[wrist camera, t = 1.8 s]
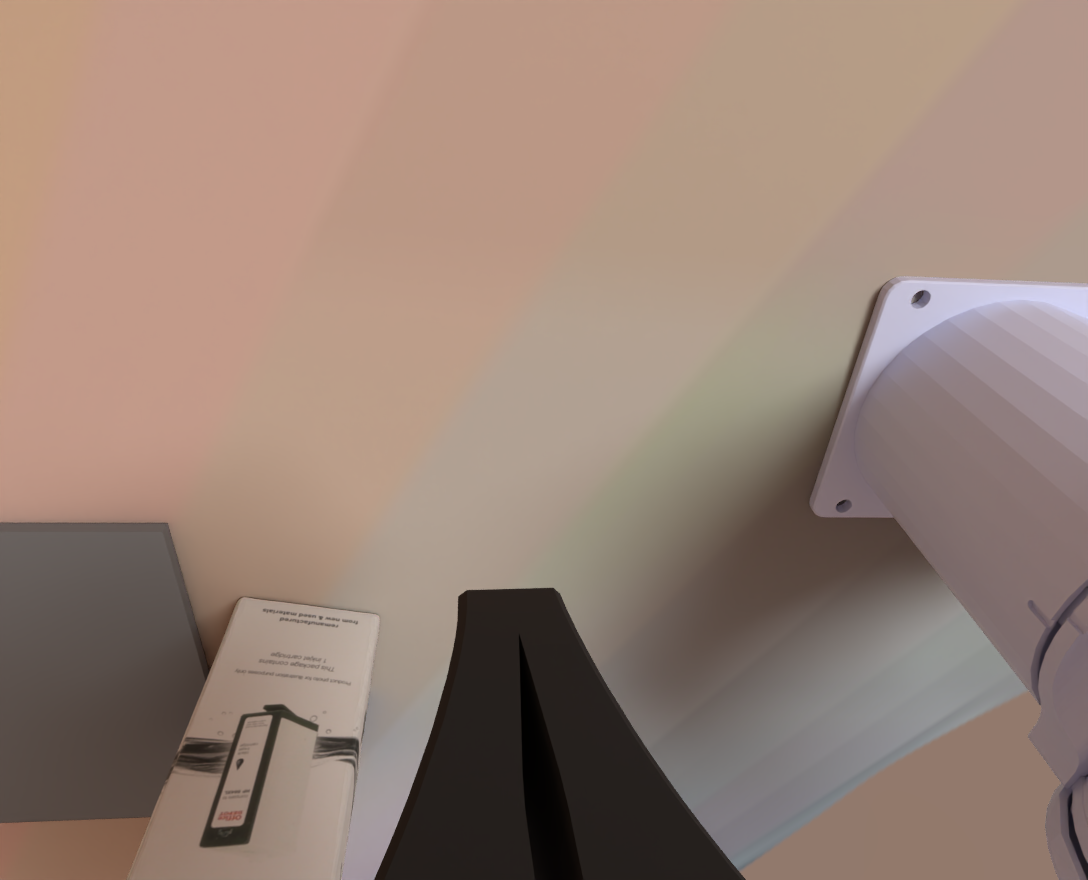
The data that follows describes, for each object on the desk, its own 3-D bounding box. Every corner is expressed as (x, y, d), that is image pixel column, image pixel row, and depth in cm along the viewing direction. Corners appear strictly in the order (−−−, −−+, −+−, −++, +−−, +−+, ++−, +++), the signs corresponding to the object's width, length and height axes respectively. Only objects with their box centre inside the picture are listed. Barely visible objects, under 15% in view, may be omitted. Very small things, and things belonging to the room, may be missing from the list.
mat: (167, 523, 21) (162, 531, 21) (246, 803, 29) (244, 813, 29) (-315, 522, 20) (-328, 531, 20) (-94, 816, 28) (-101, 827, 28)
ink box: (355, 759, 28) (291, 1170, 19) (225, 748, 27) (84, 1177, 18) (386, 608, 24) (323, 1042, 14) (232, 590, 23) (50, 1042, 13)
